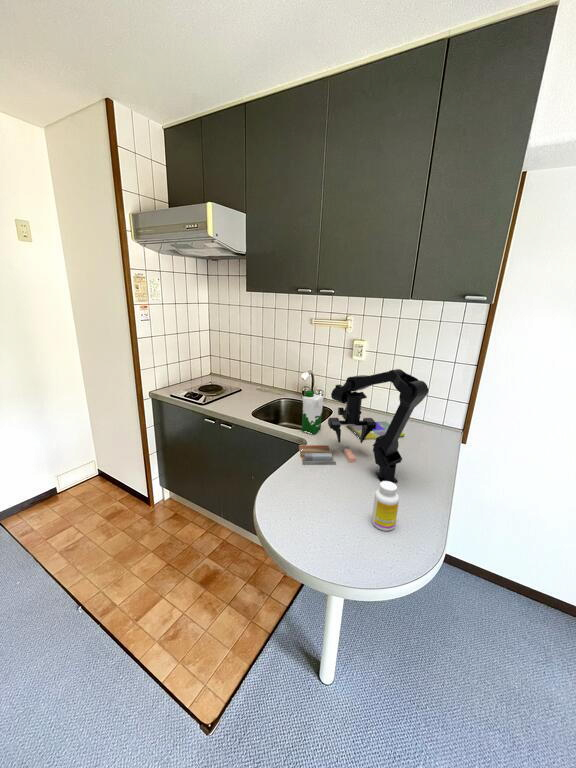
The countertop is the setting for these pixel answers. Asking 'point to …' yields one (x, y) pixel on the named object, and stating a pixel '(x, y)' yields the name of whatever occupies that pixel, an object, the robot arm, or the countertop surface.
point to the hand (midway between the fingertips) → (350, 442)
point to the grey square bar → (318, 457)
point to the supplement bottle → (385, 506)
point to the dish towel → (377, 432)
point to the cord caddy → (315, 450)
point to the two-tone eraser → (349, 454)
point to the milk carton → (312, 412)
